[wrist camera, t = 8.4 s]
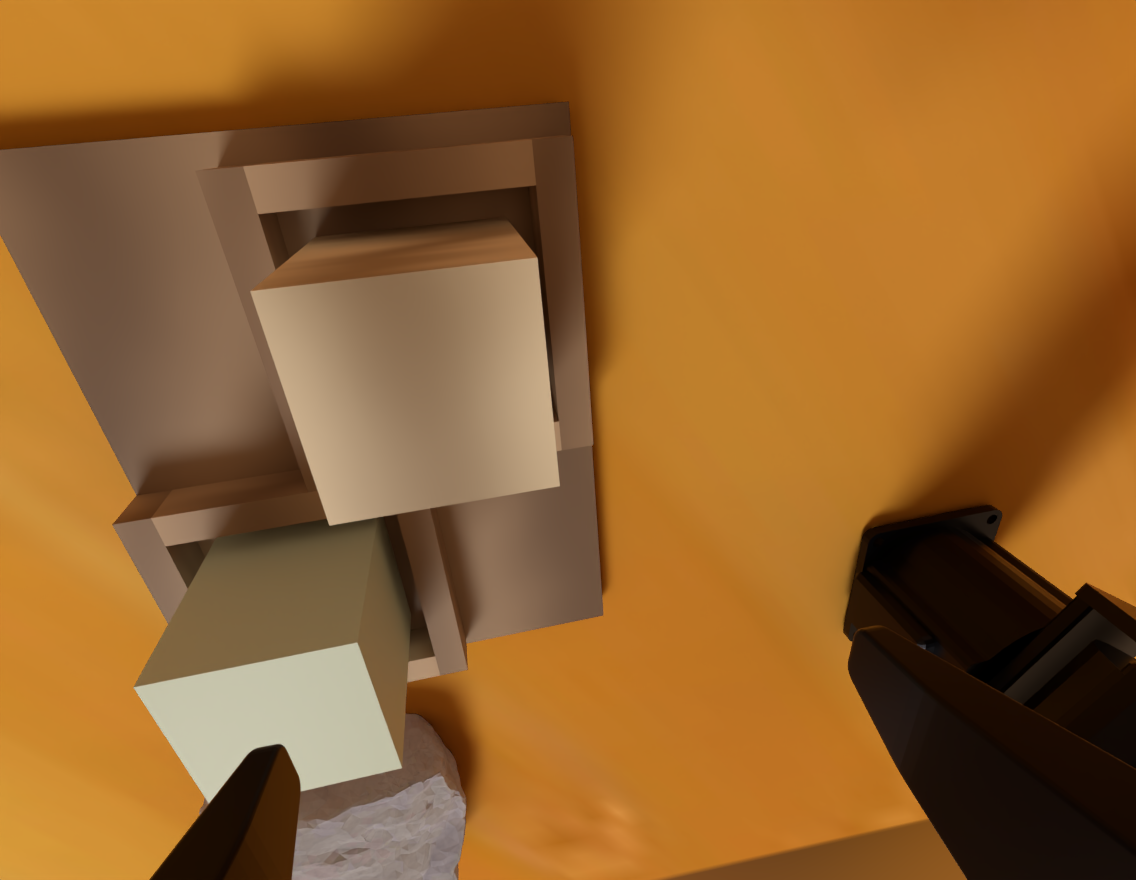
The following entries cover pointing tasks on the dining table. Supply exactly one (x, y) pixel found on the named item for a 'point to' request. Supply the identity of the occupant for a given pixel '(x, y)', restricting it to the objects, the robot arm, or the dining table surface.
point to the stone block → (386, 819)
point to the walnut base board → (244, 361)
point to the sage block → (287, 655)
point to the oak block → (414, 366)
